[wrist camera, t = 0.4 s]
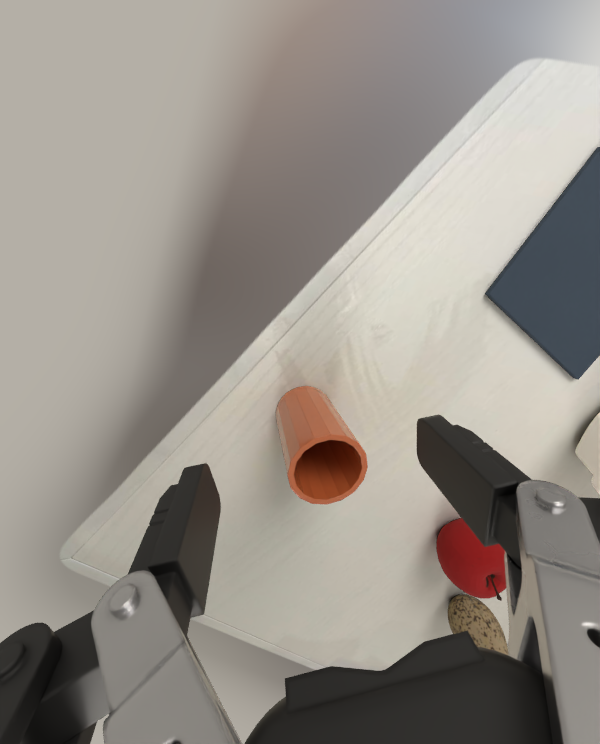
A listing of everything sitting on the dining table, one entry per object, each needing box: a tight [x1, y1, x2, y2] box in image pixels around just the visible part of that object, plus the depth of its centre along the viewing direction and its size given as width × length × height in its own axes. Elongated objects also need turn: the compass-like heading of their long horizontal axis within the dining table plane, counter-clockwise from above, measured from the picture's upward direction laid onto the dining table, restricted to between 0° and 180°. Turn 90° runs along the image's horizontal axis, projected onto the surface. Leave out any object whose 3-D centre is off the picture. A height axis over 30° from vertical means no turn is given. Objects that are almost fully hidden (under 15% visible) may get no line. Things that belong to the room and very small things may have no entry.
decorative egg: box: [448, 594, 508, 655], centre depth 44 cm, size 7×7×10 cm
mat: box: [485, 147, 600, 379], centre depth 34 cm, size 20×18×1 cm
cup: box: [276, 386, 368, 504], centre depth 28 cm, size 7×7×11 cm
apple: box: [437, 518, 506, 600], centre depth 39 cm, size 9×9×10 cm
